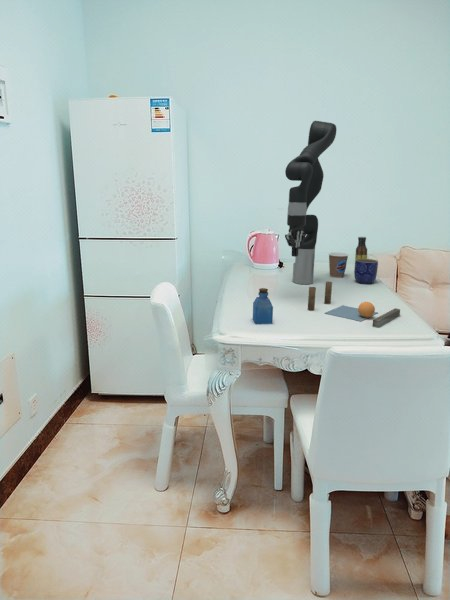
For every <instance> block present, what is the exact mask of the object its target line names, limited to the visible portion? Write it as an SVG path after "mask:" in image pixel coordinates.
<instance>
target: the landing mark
mask: <svg viewBox="0 0 450 600" xmlns="http://www.w3.org/2000/svg"><path fill="white" fill-rule="evenodd" d="M324 314H325V315H330V316H334V317H338V318H342V319H346V320H347V319H348V320H353V321H356V322H360V323H361V322H363V321H365V320H367V319H369V318H370V317H368V318H365V317H362V316H361V315H360V314H359V312H358V307H353V306H348V305H344V304H343V305H340V306H338V307H335V308H333V309H331V310H328V311H325V312H324ZM377 314H379V312H377V311H375V312H374V314H373V315H372V316H371V317H373V316H375V315H377Z"/></svg>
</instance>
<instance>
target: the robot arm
mask: <svg viewBox="0 0 450 600" xmlns="http://www.w3.org/2000/svg"><path fill="white" fill-rule="evenodd" d="M336 136H337V125H336V124H335V123H332V122H327V121H321V120H313V121H312V123H311V125H310V127H309V131H308V139H307V140H308V141H307V145H306V146H305V147H304V148H303V149H302V151H301V152H300V154H299V155H298V156H296V157H294V158H293V159H292V160H291V161H290V162H289V163H288V164H287V165H286V167H285V177H286V178H287V180H288V181H293V182H294V181H298V182H300V184H299V185H298V186H297V185H296V186H293V187H290V188H289V192H288V204H287V219H286V224H287V226H288V228H289V229H288V233H287V234H284V238H285V241H286V243H287V245H288V247H290V248H291V257H294V259H295V261H294V262H293V265H292V266H293V267H292V283H294V284H297V285H298V284H299V285H312V284H313V283H314V272H315V271H314V270H315V258H316V256H315V255H316V245H317V239H318V230H319V219H318V217H317V215H315V214H307V212H308V208H309V207H310V205H311V204H312V203H313V201H314V200H315V198H316V197H318V195H319V194H320V192H321V190H322V187H323V182H324V171H323V168H322V166H321V165H322V164H321V163H320V160H319V158H320V156H321V155H322V154H323V153H324V152H325V151H326V150H327V149H328V148H329V147H331V145H332V144H333V143H334V141H335V139H336Z"/></svg>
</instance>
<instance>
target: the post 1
mask: <svg viewBox="0 0 450 600" xmlns="http://www.w3.org/2000/svg"><path fill="white" fill-rule="evenodd" d="M316 290H317V288H316V287H315V286H309V287H308V299H307V311H315V306H316V305H315V304H316Z"/></svg>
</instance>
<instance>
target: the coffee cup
mask: <svg viewBox="0 0 450 600" xmlns="http://www.w3.org/2000/svg"><path fill="white" fill-rule="evenodd" d="M348 256H349V254H348V253H346V252H329V253H328V261H329V263H328V264H329V265H328V267H329V276H330V277H331V278H334V279H335V278H336V279H340V278H341V279H342V278H344V277H345V272H346V270H347V269H346V268H347V263H348Z"/></svg>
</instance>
